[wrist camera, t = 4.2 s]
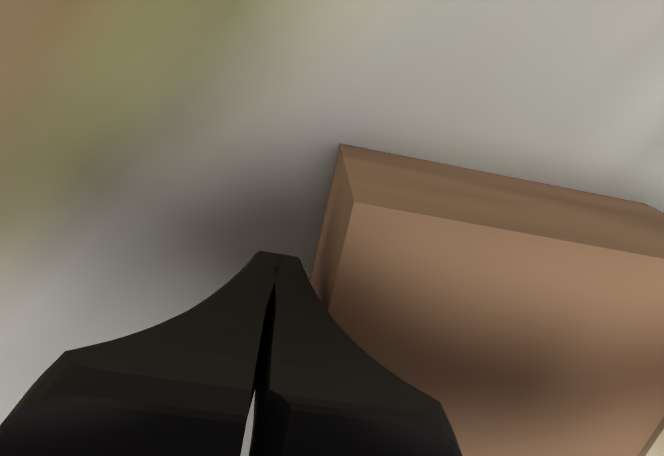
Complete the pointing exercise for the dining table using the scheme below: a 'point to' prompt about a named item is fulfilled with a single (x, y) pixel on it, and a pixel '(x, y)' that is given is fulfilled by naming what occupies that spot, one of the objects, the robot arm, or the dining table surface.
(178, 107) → the dining table surface
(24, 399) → the robot arm
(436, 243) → the walnut block
